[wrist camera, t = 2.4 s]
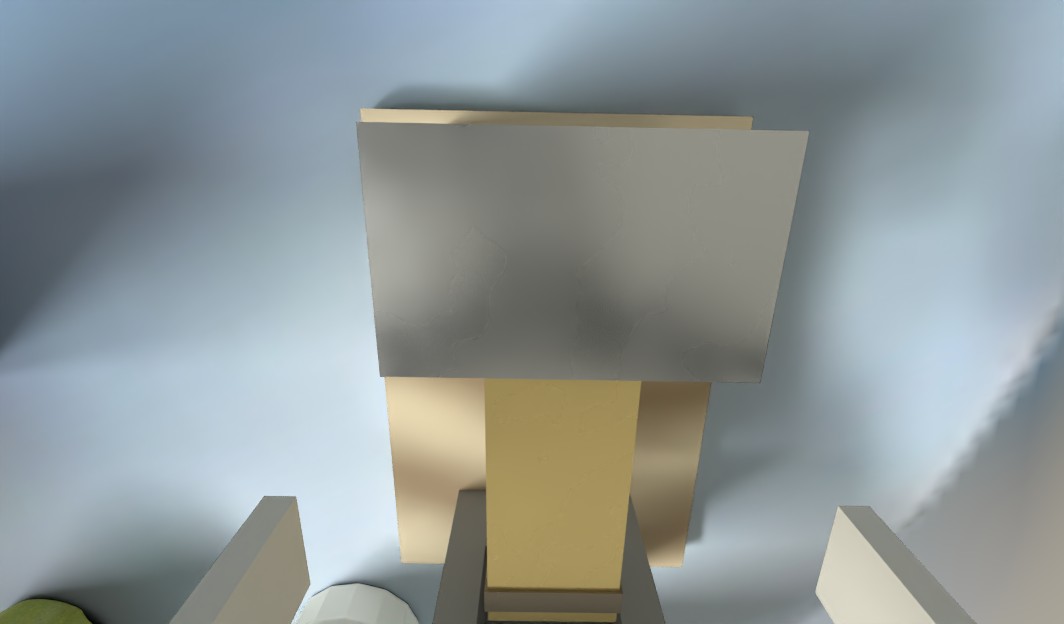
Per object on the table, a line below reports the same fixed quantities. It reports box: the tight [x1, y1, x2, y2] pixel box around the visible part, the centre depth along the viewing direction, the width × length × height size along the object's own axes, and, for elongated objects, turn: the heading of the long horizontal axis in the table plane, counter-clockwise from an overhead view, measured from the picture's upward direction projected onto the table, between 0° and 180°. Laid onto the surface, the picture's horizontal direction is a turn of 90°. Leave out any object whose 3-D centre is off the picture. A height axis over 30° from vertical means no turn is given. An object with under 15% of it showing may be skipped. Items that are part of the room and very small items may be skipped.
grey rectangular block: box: [356, 122, 809, 383], centre depth 14 cm, size 5×8×10 cm, turn 89°
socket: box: [432, 490, 665, 624], centre depth 20 cm, size 4×8×10 cm, turn 89°
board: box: [360, 109, 753, 567], centre depth 22 cm, size 21×14×1 cm, turn 179°
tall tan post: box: [484, 378, 641, 622], centre depth 15 cm, size 14×4×4 cm, turn 179°
